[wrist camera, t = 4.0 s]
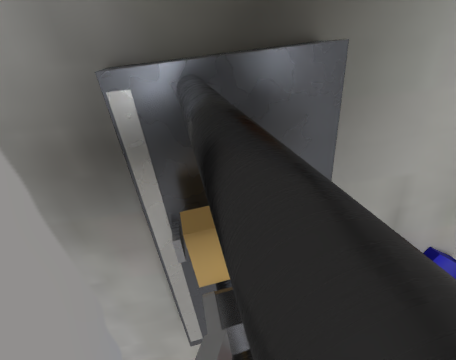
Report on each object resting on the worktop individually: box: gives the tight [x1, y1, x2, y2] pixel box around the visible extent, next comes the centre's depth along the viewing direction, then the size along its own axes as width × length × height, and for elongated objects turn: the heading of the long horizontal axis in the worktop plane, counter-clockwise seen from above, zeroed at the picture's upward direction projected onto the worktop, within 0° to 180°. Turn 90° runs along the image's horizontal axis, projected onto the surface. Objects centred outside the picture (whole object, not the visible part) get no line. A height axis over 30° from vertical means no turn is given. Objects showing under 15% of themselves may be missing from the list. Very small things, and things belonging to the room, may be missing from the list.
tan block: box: [180, 206, 230, 288], centre depth 16 cm, size 7×4×2 cm, turn 7°
